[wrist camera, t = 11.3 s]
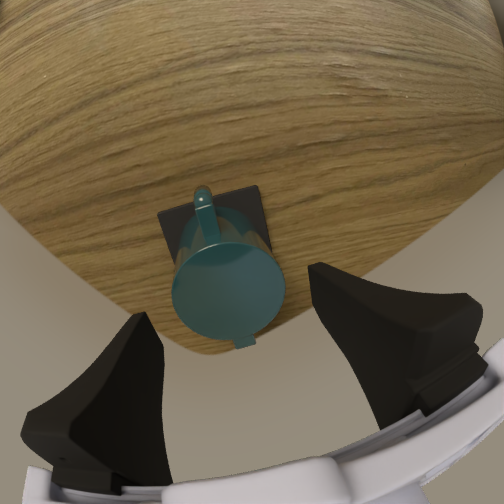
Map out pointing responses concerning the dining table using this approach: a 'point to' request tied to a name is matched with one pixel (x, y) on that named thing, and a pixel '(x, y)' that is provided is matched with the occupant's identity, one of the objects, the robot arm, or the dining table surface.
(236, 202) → the coaster
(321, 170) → the dining table surface
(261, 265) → the teal tabbed cylinder
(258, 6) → the dining table surface
